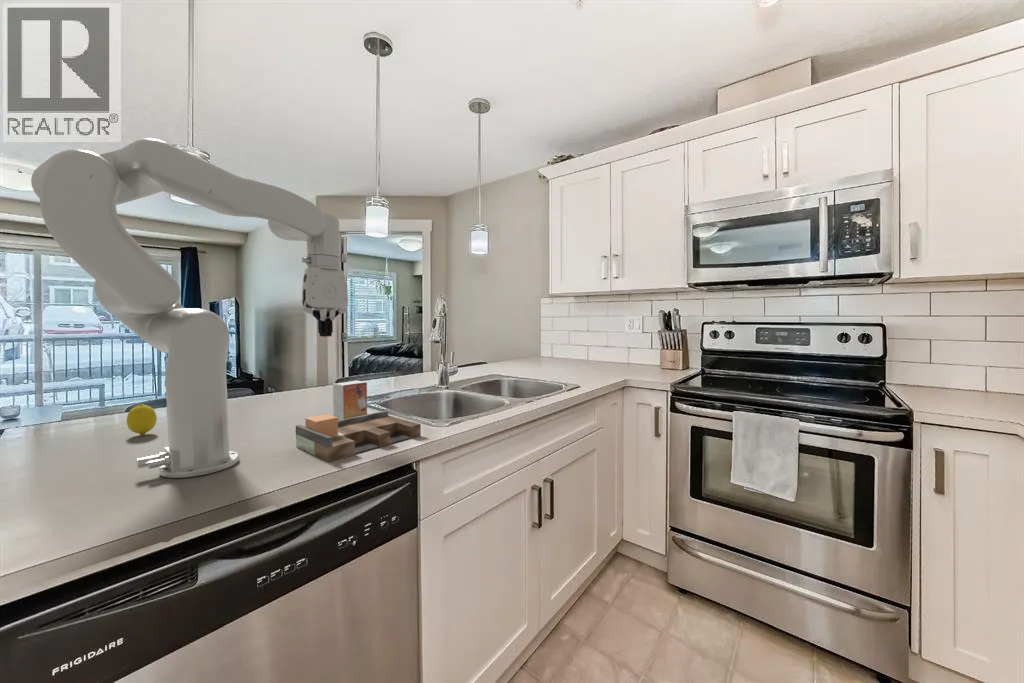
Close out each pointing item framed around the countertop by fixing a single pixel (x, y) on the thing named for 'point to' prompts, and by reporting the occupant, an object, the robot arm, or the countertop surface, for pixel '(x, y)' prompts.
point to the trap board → (356, 435)
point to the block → (323, 424)
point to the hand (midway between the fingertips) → (325, 336)
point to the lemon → (141, 419)
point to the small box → (349, 399)
